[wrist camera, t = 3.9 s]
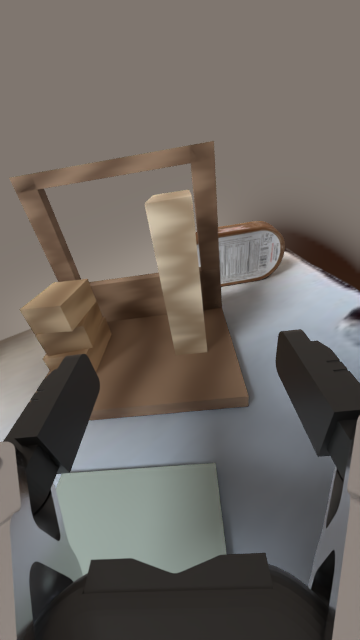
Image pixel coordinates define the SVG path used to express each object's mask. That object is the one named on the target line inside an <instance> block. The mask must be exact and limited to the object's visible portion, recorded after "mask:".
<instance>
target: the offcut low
mask: <svg viewBox="0 0 360 640" xmlns="http://www.w3.org/2000/svg"><path fill="white" fill-rule="evenodd" d="M111 335H112V334H111V331H110V328H109V326H108V323H107V321H106V318H105V317H102V318H101V322H100V325H99V328H98V332H97V335H96V339H95V342H94V346H93V348H88V349H83V350H78V351H73V352H68V353H63V354H58V355H53V356H48V355H47V354H46V355H45V356H44V358H43V360H44V362H45V363H46V365H47V367H48V368H49V370H50V371H51V372H52V371H53V370H55V369H57V368H58V367H59V365H60V364H61V362H62V360H63V359H64V357H66V356H69V355H78V354H86V355H87V356H88V357H89V359H90V361H91V363H92V365H93V368H94V370H95V372H96V371H97V369H98V366H99V364H100V361H101V359H102V356H103V354H104V352H105V349H106V347H107V344H108V342H109V339H110V337H111Z"/></svg>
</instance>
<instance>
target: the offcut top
mask: <svg viewBox="0 0 360 640" xmlns="http://www.w3.org/2000/svg"><path fill="white" fill-rule="evenodd" d="M95 302H96V299H95V296H94V294H93V291H92V289H91V286H90V284H89V281H88V279H83V280H73V281H63V282H54V283H53V284H51V285H50V286H49V287H48V288H46V289H45V290H44V291H43V292H41V293H40V294H39V295H38V296H36V297H35V298H34V299H32V300H31V301H30V302H29V303H27V304H26V305H25V306H23V307H22V308H21V309H20V311H21V313H22V314H23V316H24V318H25V319H26V321H27V323H28V324H29V326H30V327H31V329H32V331H33V332H34V334H40V333H55V332H69V331H73V330H74V329H75V328H76V326H77V325H78V324H79V323H80V321H81V320H82V319H83V318H84V316H85V315H86V314H87V312H88V311H89V310H90V309H91V307H92V306H93V305H94V304H95Z"/></svg>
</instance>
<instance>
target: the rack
mask: <svg viewBox="0 0 360 640" xmlns="http://www.w3.org/2000/svg"><path fill="white" fill-rule="evenodd" d="M188 163H191V171H192V182H193V193H194V203H195V213H196V223H197V234H198V244H199V255H200V265H201V267H199V274H200V284H201V293H202V303H203V313H204V323H205V333H206V343H207V352H203V353H194V354H185V355H176V354H175V349H174V344H173V340H172V335H171V330H170V325H169V320H168V315H167V310H166V306H165V301H164V296H163V291H162V286H161V281H160V276H159V273H154V274H146V275H139V276H132V277H124V278H117V279H109V280H102V281H95V282H89V284H90V286H91V289H92V291H93V294H94V296H95V298H96V301H97V303H98V306H99V308H100V311H101V314H102V317H105V318H106V321H107V323H108V326H109V328H110V331H111V334H112V335H111V337H110V339H109V342H108V344H107V347H106V349H105V352H104V354H103V356H102V359H101V361H100V364H99V366H98V369H97V371H96V374H97V376H98V378H99V381H100V391H99V394H98V397H97V400H96V402H95V405H94V408H93V411H92V413H91V416H90V419H89V420H98V419H110V418H121V417H133V416H144V415H155V414H167V413H178V412H189V411H201V410H212V409H224V408H235V407H246V406H248V401H249V396H248V392H247V389H246V386H245V382H244V379H243V376H242V373H241V369H240V366H239V363H238V359H237V356H236V353H235V350H234V346H233V343H232V340H231V336H230V333H229V330H228V326H227V323H226V320H225V317H224V313H223V310H222V301H221V280H220V259H219V239H218V218H217V200H216V199H217V197H216V177H215V156H214V141H211V142H206V143H200V144H194V145H189V146H183V147H178V148H172V149H166V150H161V151H155V152H150V153H144V154H139V155H133V156H128V157H122V158H116V159H111V160H106V161H100V162H95V163H88V164H84V165H78V166H72V167H66V168H61V169H55V170H50V171H44V172H39V173H33V174H28V175H22V176H16V177H11V178H10V180H11V182H12V185H13V187H14V189H15V191H16V193H17V195H18V197H19V200H20V201H21V204H22V206H23V208H24V210H25V212H26V214H27V216H28V219H29V221H30V223H31V225H32V227H33V229H34V231H35V233H36V235H37V237H38V240H39V242H40V244H41V245H42V248H43V250H44V252H45V254H46V257H47V259H48V261H49V263H50V265H51V267H52V269H53V271H54V273H55V276H56V278H57V280H58V282H63V281H73V280H81V278H80V275H79V273H78V271H77V268H76V266H75V263H74V261H73V258H72V256H71V254H70V251H69V249H68V246H67V244H66V241H65V239H64V237H63V234H62V232H61V230H60V227H59V225H58V222H57V220H56V217H55V215H54V212H53V210H52V208H51V205H50V202H49V200H48V198H47V195H46V193H45V191H44V188H50V187H55V186H62V185H67V184H73V183H79V182H85V181H90V180H96V179H102V178H108V177H114V176H119V175H125V174H131V173H136V172H142V171H148V170H154V169H160V168H165V167H171V166H177V165H183V164H188ZM50 373H51V371H49V373H48V374H47V376H48V375H49V374H50ZM47 376H46V377H47ZM46 377H45V378H46ZM36 392H37V391H36ZM30 402H31V400H30Z"/></svg>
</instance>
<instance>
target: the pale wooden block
mask: <svg viewBox="0 0 360 640" xmlns="http://www.w3.org/2000/svg"><path fill="white" fill-rule="evenodd" d="M145 208H146V213H147V218H148V223H149V227H150V233H151V237H152V242H153V247H154V252H155V257H156V262H157V267H158V271H159V276H160V281H161V286H162V291H163V296H164V301H165V306H166V310H167V315H168V320H169V325H170V330H171V335H172V340H173V344H174V349H175V354H176V355H185V354H194V353H203V352H207V343H206V333H205V323H204V313H203V303H202V293H201V284H200V274H199V264H198V254H197V244H196V234H195V224H194V215H193V205H192V196H191V193H190V191H189V190H183V191H177V192H171V193H164V194H159V195H153V196H152V197H151V198H150V199H149V200H148V201H147V202H146V203H145Z"/></svg>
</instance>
